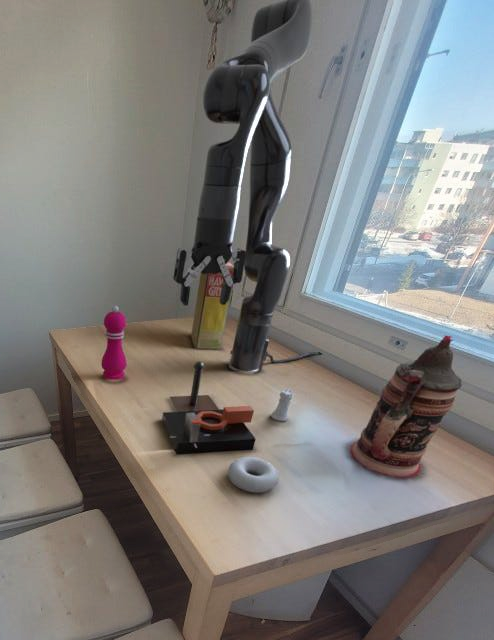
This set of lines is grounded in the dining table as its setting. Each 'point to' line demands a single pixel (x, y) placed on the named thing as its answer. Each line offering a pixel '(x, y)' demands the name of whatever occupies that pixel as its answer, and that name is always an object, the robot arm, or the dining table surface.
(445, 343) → the beer stein
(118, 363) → the pepper mill
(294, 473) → the dining table surface
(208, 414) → the hanging ring
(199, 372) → the peg stand
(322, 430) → the dining table surface
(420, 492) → the dining table surface
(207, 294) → the food packaging
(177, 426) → the stove
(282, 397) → the rook chess piece
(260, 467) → the donut
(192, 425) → the knob
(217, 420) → the burner
